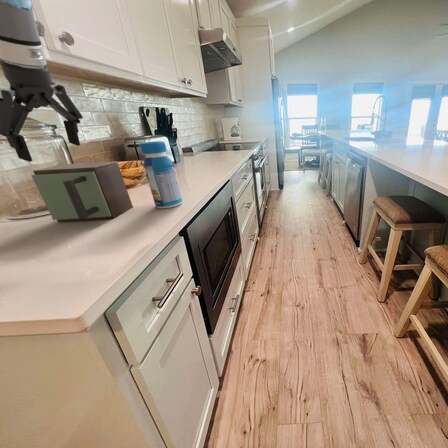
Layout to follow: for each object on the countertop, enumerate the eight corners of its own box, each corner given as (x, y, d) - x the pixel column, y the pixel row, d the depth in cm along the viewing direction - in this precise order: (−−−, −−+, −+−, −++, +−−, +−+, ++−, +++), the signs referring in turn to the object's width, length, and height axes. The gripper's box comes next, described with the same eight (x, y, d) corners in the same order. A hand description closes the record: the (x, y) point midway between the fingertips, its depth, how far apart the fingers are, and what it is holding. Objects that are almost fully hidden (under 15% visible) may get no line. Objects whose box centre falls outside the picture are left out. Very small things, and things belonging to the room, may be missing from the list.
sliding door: (33, 228, 64) (7, 180, 58) (55, 219, 70) (33, 174, 64) (95, 224, 64) (75, 176, 59) (111, 215, 70) (94, 171, 65)
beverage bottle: (177, 208, 77) (159, 142, 69) (150, 210, 77) (129, 144, 68) (186, 200, 85) (172, 140, 76) (162, 201, 84) (145, 141, 76)
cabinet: (57, 221, 70) (32, 170, 64) (83, 210, 80) (63, 164, 73) (113, 218, 71) (93, 167, 65) (133, 207, 80) (117, 161, 74)
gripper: (-30, 71, 44) (15, 173, 56) (88, 67, 64) (102, 142, 77) (-71, 56, 44) (-17, 162, 56) (60, 57, 64) (79, 134, 76)
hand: (52, 151), depth 66 cm, fingers open, 13 cm apart
